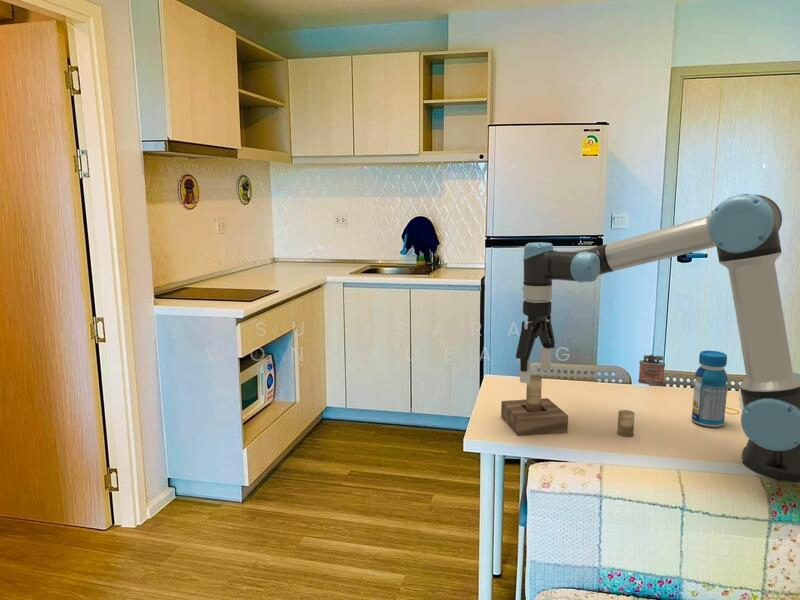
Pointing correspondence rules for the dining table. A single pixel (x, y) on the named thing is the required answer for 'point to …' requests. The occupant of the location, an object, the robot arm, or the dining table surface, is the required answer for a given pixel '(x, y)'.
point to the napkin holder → (741, 401)
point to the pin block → (534, 418)
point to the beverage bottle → (710, 389)
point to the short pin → (625, 423)
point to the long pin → (534, 394)
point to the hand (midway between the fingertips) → (535, 376)
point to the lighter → (651, 370)
